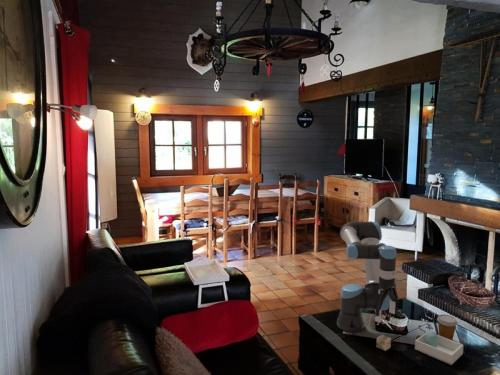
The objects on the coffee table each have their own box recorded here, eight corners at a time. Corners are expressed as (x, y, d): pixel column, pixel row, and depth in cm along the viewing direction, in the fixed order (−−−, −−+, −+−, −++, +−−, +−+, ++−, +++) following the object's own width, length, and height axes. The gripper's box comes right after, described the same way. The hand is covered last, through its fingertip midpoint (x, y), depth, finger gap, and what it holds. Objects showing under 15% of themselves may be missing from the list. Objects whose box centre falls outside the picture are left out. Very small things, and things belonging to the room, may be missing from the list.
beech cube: (376, 347, 198) (376, 337, 197) (381, 343, 201) (382, 334, 200) (385, 351, 194) (385, 341, 193) (390, 347, 197) (391, 338, 197)
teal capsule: (424, 347, 196) (424, 334, 195) (428, 343, 199) (429, 331, 198) (434, 351, 192) (435, 338, 191) (438, 347, 195) (439, 334, 194)
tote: (414, 349, 195) (415, 340, 194) (427, 340, 204) (427, 331, 203) (451, 365, 182) (452, 355, 181) (462, 354, 191) (463, 344, 190)
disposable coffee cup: (458, 345, 199) (460, 323, 197) (438, 343, 201) (439, 321, 199) (452, 335, 208) (454, 314, 206) (433, 334, 210) (435, 313, 208)
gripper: (380, 285, 181) (378, 328, 184) (406, 273, 198) (404, 312, 201) (366, 281, 187) (364, 322, 190) (392, 269, 203) (390, 307, 206)
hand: (385, 317), depth 195 cm, fingers open, 13 cm apart
